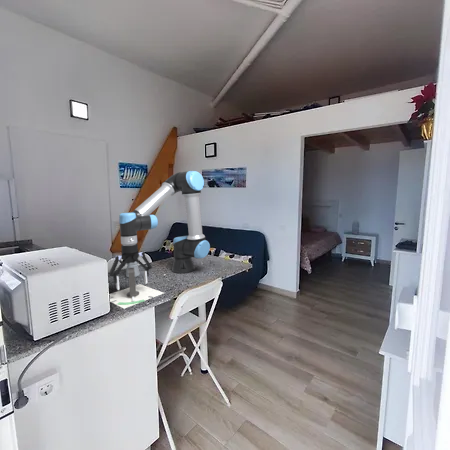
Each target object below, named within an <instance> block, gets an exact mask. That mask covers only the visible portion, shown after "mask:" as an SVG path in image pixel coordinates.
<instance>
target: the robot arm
mask: <svg viewBox="0 0 450 450" xmlns="http://www.w3.org/2000/svg"><path fill="white" fill-rule="evenodd" d="M204 186H205V180H204V177H203V175H202V174H201V173H200V172H198V171H196V170H189V171H182V172H181V171H180V172H179V171H178V172H176V173H173V174H172V175H170V176H169V177H168V178H167V179H165V181H163V182H162V183H161V186H160V187H159V188H158V189H157V190H156V191H154V192H153V193H152V194H151V195H150V196H149V197H147V198H146V199H145V200H144V201H143V202H142V203H141V204H139V205H138V206H137V207H136V208H135V209H134V210H133V211H131V212H121V213H120V214H119V219H118V221H119V222H118V224H119V232H120V233H119V234H120V244H121V248H120V249H121V256H120V255H115V256H114V262H113V263H112V266H111V268H110V270H109V273H108V275H109V277H113V278H112V279H113V283H114V284H115V285H116V286H115V287H116V290H117V291H120V278H119V274H120V272H121V271H122V269H123V268H124V267H125V266H127V264H126V263H128V264H129V263H134V262H135V261H136V262H137V264H138V265H139V266H141V267H142V268H143V282H144V284H145V285H146V284H148V277H149V275H150V274H149V271H150V270H151V269H153V266H152V265H151V263H150V262H149V260H148V258H147V257H146V253H145V252H144V251H140V252H139V247H138V246H139V245H138V244H137V243H138V232H139V231H148V230H153V229H156V228H157V227H158V225H159V223H158V222H159V221H158V217H157V215H155V214H152V213H153V212H154V211H155V210H156V209H157V208H158V207H159V206H161V205H162V204H163V203H164V202H165V201H166V200H167V199H168V198H170V197H172V196H174V195H175V194H176V193H178V192H179V193H180V192H181V195H182V196H183V197H184V201H185V210H186V211H185V212H186V213H185V214H186V221H187V228H188V230H187V231H188V235H183V236H177V237H174V238H173V243H172V245H173V259H174V260H173V264H172V267H171V271H172V273H175V274H187V273H191V272H194V271H195V270H196V269H195V267H196V266H195V264H194V260H193V258H195V259H204V258H206V257H207V255H208V254H209V253H210V250H211V245H210V242H209V241H208V240H206V236H205V234H203V225H202V216H201V215H202V213H201V206H200V205H201V203H200V195H201V194H202V190H203V189H204ZM139 255H140V256H139ZM138 257H139V258H140V257H141V259H143V262H144V263H145V264H146V265H145V264H144V263H143V262H141V261H140V259H139V258H138ZM121 258H122V260H121ZM137 258H138V259H137ZM119 260H121V261H122V262H121V263H120V264H119ZM118 264H119V265H118ZM117 265H118V267H117ZM124 265H125V266H124Z"/></svg>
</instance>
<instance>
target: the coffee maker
mask: <svg viewBox="0 0 450 450" xmlns="http://www.w3.org/2000/svg"><path fill="white" fill-rule="evenodd" d="M121 255H122V254H121ZM121 255H119V256H121ZM140 257H141V256H140V255H139V257H138V258H137V259H138V260H139V258H140ZM121 259H122V258H121ZM121 259H120V260H119V261H118V263H120V264H121V262H122V261H123V259H122V260H121ZM125 266H126V270H125V277H126V278H127V277H129V274H128V268H133V267H134V272H135V278H138V277H139V276H141V272H140V269H139V264H138V263H137V262H136V261H135V262H134V263H129V264H128V263H126V265H124V267H125ZM137 276H138V277H137Z"/></svg>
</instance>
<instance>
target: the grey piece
mask: <svg viewBox="0 0 450 450" xmlns="http://www.w3.org/2000/svg"><path fill="white" fill-rule="evenodd" d="M128 274H129V278H128V284H129V285H128V286H129V287H128V288H130V292H128V293H127V296H128V297H132V302H134V301H135V298H134V296H137V295H139V292H138V291H136V285H137V284H136V277H135V272H134V267H133V268H128Z"/></svg>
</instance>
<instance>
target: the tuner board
mask: <svg viewBox="0 0 450 450" xmlns="http://www.w3.org/2000/svg"><path fill="white" fill-rule="evenodd" d="M135 285H136V291H138V292H139V295H137V296H134V298H135V301H134V302H132V297H128V296H127V293H128V292H130V288H129V287H127V288H125V289H121V290H117V291H115V292H112V293H109V295H110V301H109V302H110V303H112V304H114V305H116V306H117V307H120V308H122V309H124V310H125V309H127V308H129V307H132V306H135V305H137V304H140V303H144V302H146V301H147V300H151V299H153V298H155V297H158V296H160V295H164V292H163V291H160V290H158V289H154V288H151V287H150V286H146V285H144V284H141V283H139V284H135Z"/></svg>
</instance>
